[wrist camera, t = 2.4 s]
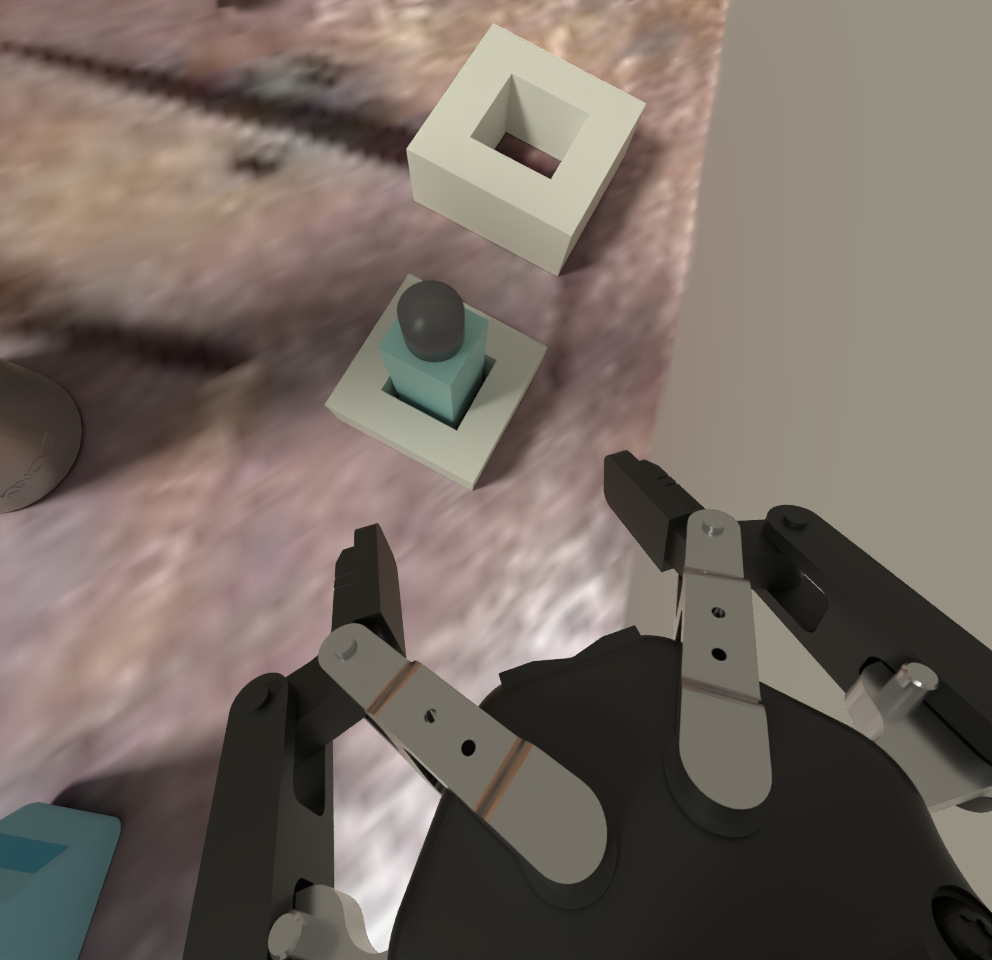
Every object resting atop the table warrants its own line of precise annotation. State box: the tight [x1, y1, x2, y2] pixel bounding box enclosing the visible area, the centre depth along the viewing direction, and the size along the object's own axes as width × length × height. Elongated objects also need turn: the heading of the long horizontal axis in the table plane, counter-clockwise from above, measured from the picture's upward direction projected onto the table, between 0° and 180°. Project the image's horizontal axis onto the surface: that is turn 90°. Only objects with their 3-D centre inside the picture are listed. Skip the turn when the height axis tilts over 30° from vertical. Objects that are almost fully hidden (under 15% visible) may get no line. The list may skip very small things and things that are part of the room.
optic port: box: [407, 23, 646, 277], centre depth 29 cm, size 12×12×4 cm
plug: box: [378, 281, 489, 429], centre depth 23 cm, size 4×4×10 cm
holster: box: [325, 274, 547, 490], centre depth 27 cm, size 10×10×3 cm
